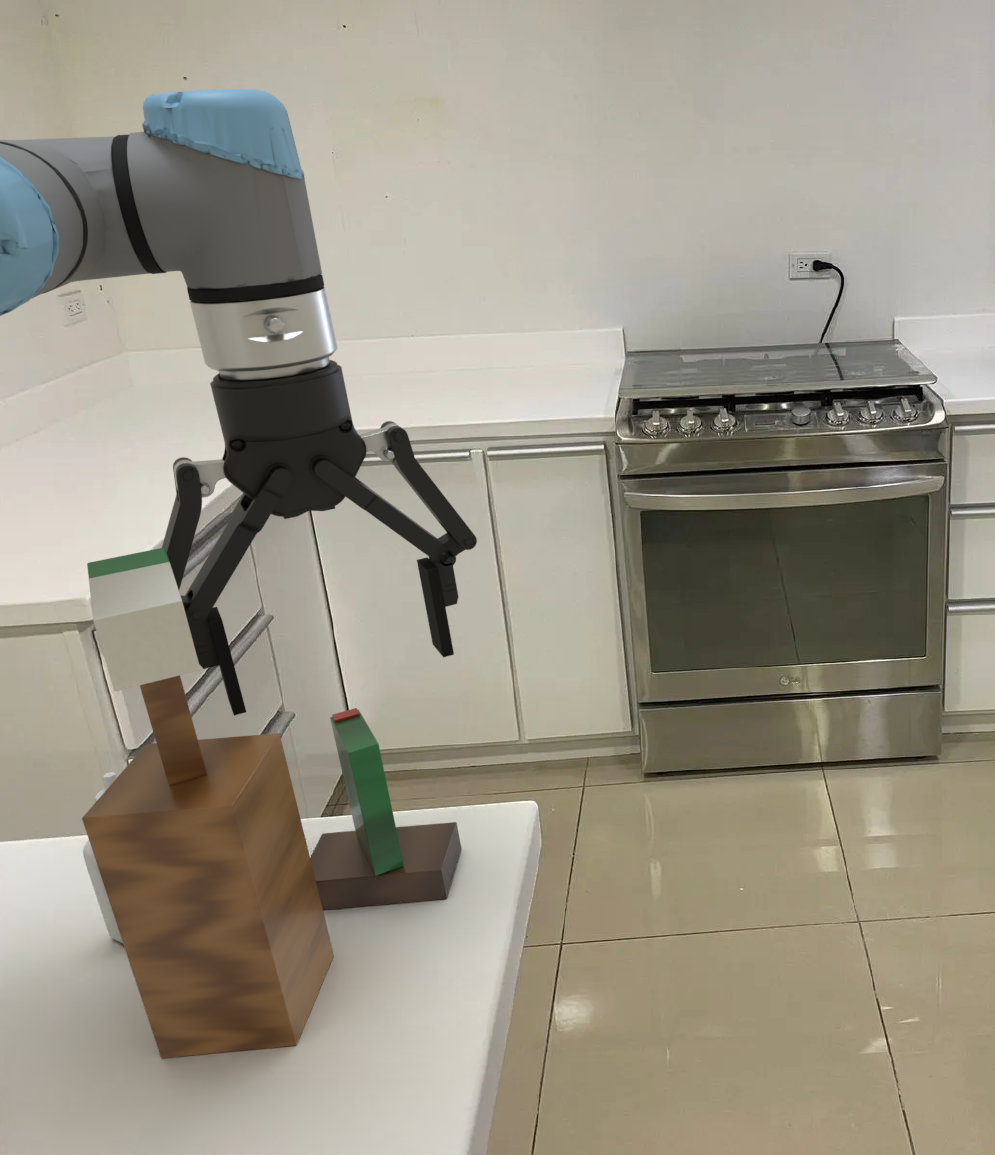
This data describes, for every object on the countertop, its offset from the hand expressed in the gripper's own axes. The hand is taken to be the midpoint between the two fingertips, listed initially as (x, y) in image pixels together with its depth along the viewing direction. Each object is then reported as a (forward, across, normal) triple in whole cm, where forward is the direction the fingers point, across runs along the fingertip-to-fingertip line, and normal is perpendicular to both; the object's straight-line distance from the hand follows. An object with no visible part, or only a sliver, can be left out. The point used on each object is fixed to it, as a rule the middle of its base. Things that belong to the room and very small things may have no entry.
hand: (344, 677), depth 77 cm
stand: (+16, -11, -8) cm, 21 cm away
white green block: (-8, -10, -8) cm, 16 cm away
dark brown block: (+17, 0, 0) cm, 17 cm away
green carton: (+14, 0, 0) cm, 14 cm away
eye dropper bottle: (+17, -15, +5) cm, 23 cm away
